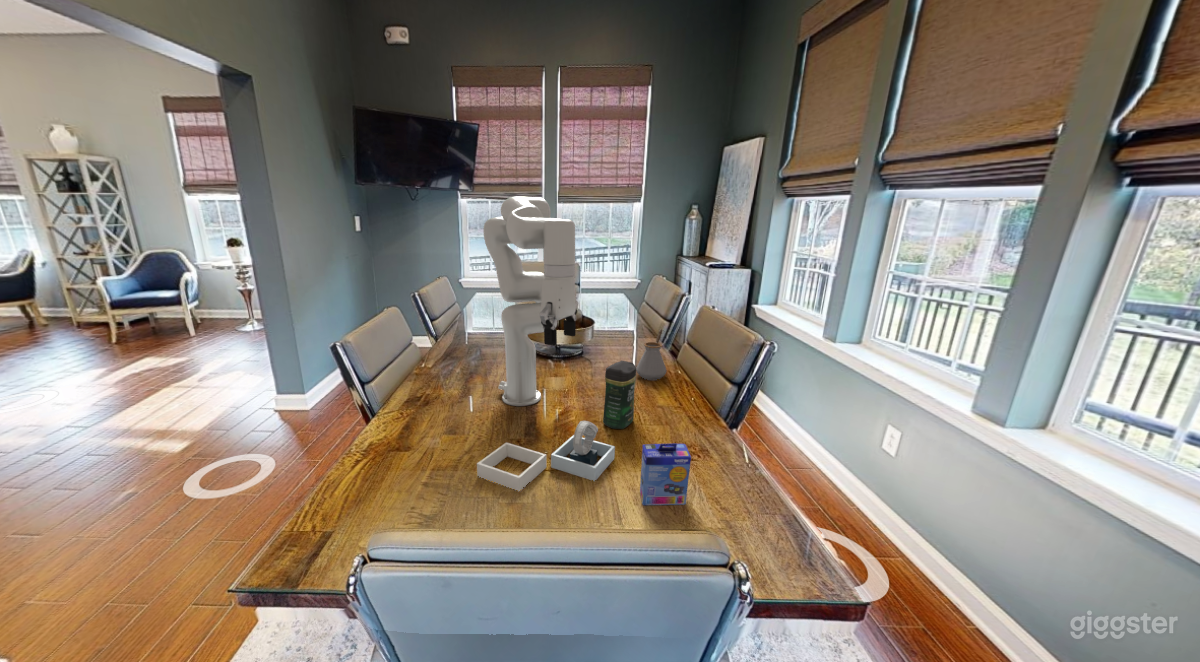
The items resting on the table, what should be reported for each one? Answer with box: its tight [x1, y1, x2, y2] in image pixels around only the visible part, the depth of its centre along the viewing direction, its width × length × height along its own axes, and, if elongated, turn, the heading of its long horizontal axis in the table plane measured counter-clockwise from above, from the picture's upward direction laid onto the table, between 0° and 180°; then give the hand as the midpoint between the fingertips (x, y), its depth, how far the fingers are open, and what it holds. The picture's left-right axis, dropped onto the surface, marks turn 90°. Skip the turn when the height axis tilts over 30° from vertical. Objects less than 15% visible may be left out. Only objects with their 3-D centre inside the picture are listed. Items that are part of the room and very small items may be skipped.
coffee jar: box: [602, 360, 637, 430], centre depth 130 cm, size 10×8×19 cm
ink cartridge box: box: [639, 442, 692, 506], centre depth 96 cm, size 10×6×14 cm, turn 95°
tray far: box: [550, 434, 616, 482], centre depth 110 cm, size 12×11×4 cm
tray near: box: [476, 442, 548, 492], centre depth 106 cm, size 12×11×4 cm
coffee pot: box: [636, 329, 667, 381], centre depth 171 cm, size 21×12×15 cm, turn 160°
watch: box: [569, 420, 599, 466], centre depth 109 cm, size 6×8×11 cm
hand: (560, 339), depth 112 cm, fingers open, 9 cm apart
